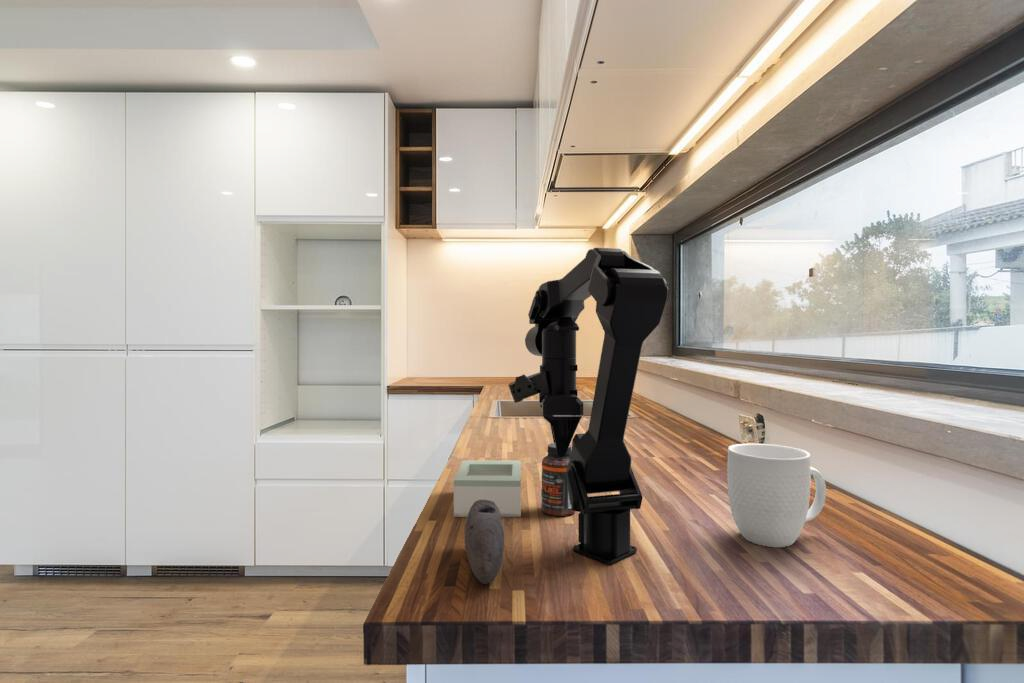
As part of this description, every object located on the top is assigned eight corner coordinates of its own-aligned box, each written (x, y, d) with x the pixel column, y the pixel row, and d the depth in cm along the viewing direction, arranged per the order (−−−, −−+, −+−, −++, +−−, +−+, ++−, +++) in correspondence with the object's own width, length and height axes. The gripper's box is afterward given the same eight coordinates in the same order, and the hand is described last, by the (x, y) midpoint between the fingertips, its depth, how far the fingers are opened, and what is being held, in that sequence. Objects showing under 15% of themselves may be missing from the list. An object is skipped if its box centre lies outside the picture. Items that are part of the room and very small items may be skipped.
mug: (796, 522, 87) (797, 440, 87) (852, 548, 76) (853, 455, 76) (712, 528, 84) (712, 444, 84) (758, 557, 73) (759, 460, 73)
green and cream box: (520, 492, 103) (520, 460, 103) (520, 517, 89) (520, 480, 89) (462, 491, 103) (462, 460, 103) (453, 516, 89) (453, 480, 89)
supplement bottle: (535, 513, 91) (535, 446, 91) (549, 504, 96) (549, 440, 96) (568, 519, 88) (568, 449, 88) (581, 509, 93) (581, 443, 93)
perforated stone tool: (506, 595, 63) (506, 535, 63) (460, 596, 62) (460, 536, 62) (503, 545, 78) (503, 496, 78) (466, 545, 77) (466, 497, 77)
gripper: (512, 356, 101) (512, 440, 101) (510, 360, 82) (510, 463, 83) (572, 356, 101) (572, 440, 101) (583, 360, 82) (583, 463, 82)
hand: (559, 450), depth 92 cm, fingers open, 9 cm apart
